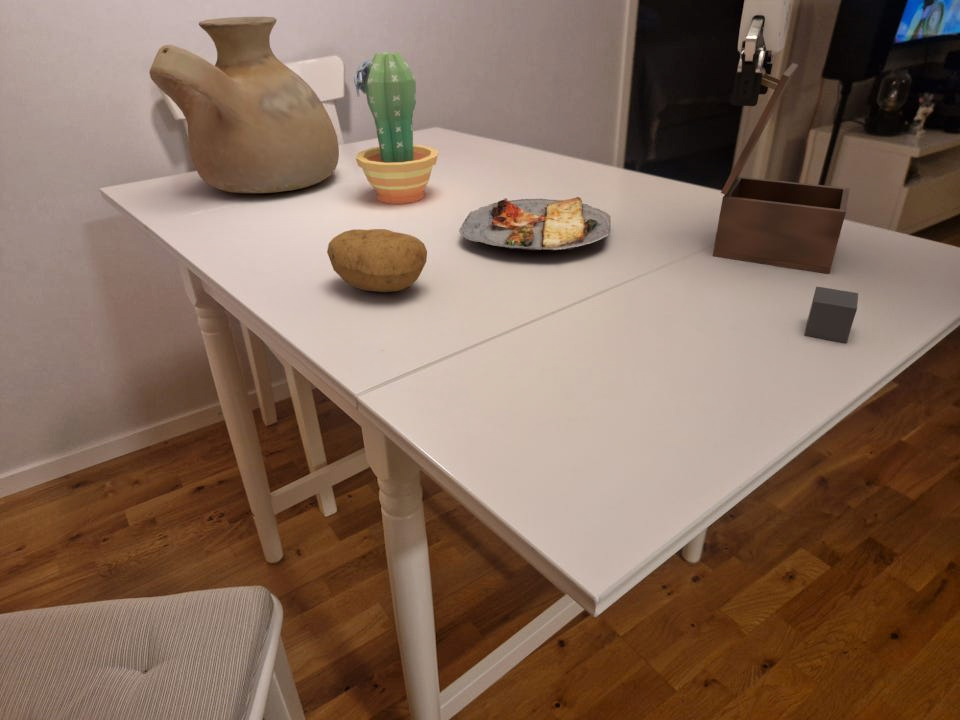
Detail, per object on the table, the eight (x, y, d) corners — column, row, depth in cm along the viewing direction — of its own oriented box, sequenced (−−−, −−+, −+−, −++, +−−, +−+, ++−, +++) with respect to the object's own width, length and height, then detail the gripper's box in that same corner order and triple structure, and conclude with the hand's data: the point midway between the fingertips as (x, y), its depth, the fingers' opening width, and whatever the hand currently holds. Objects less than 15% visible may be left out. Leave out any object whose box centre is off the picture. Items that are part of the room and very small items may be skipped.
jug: (371, 175, 138) (354, 14, 123) (237, 220, 115) (194, 29, 100) (282, 157, 153) (256, 12, 138) (146, 195, 130) (97, 25, 114)
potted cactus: (406, 180, 135) (395, 46, 122) (458, 195, 125) (452, 51, 112) (343, 197, 125) (325, 54, 112) (394, 215, 116) (380, 60, 103)
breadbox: (834, 245, 99) (849, 188, 95) (829, 273, 90) (846, 211, 86) (726, 231, 105) (736, 176, 101) (712, 255, 97) (722, 197, 92)
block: (848, 326, 77) (858, 292, 75) (846, 343, 74) (857, 308, 72) (807, 319, 79) (816, 286, 77) (804, 335, 76) (813, 300, 74)
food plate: (480, 207, 119) (479, 187, 117) (610, 212, 115) (612, 192, 113) (448, 259, 98) (447, 237, 96) (607, 268, 94) (609, 244, 92)
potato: (355, 268, 96) (348, 215, 92) (441, 282, 91) (438, 226, 87) (315, 295, 88) (306, 238, 84) (407, 312, 83) (402, 252, 79)
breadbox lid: (798, 64, 91) (763, 51, 92) (788, 76, 82) (751, 61, 83) (739, 174, 101) (709, 161, 102) (725, 195, 92) (692, 180, 93)
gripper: (801, -49, 73) (770, 112, 82) (814, -49, 86) (786, 91, 95) (731, -47, 76) (708, 108, 85) (753, -47, 89) (732, 88, 98)
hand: (749, 99), depth 90 cm, fingers open, 9 cm apart
